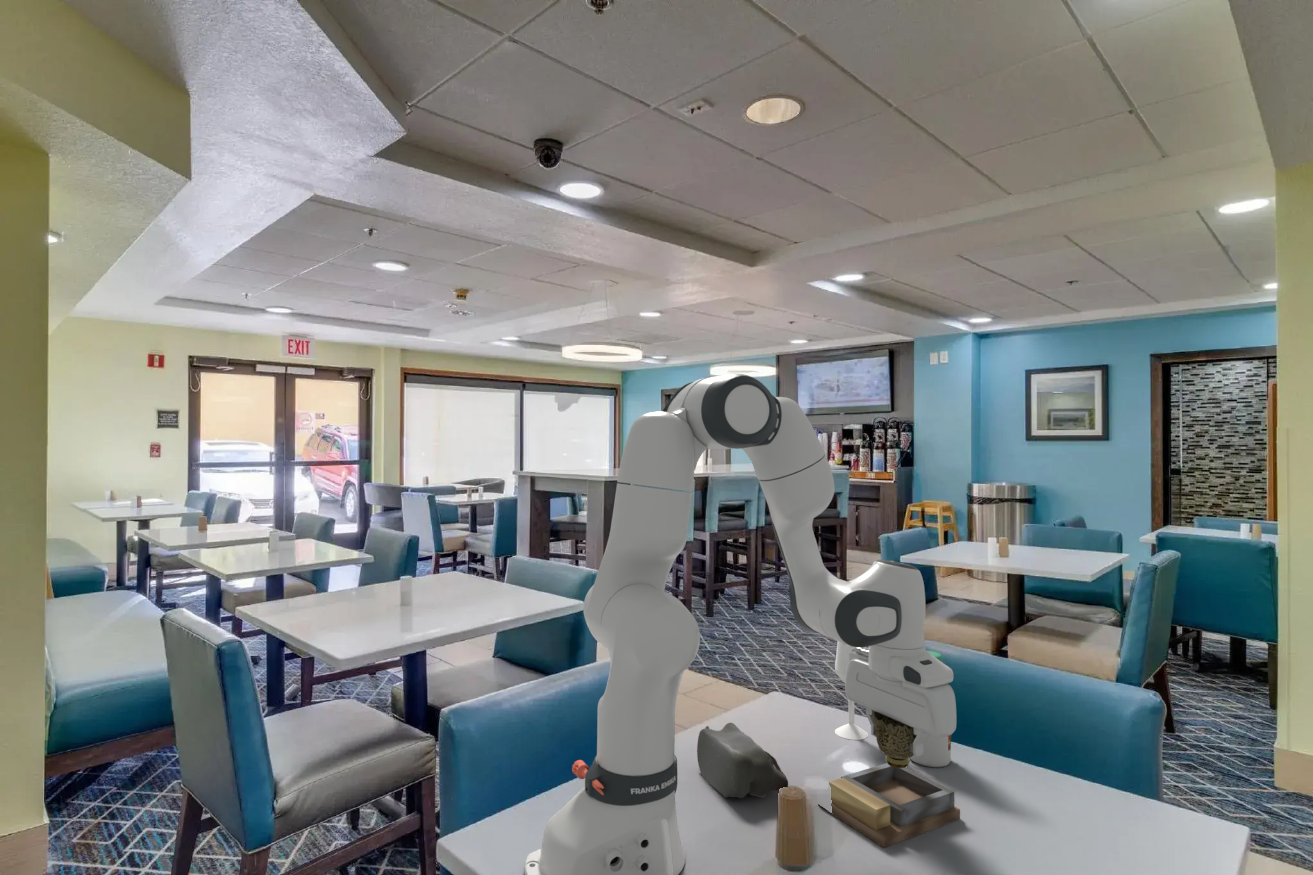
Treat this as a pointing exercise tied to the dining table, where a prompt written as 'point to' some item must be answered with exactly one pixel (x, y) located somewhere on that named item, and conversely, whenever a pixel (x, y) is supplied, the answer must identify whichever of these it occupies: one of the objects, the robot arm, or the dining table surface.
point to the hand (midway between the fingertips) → (896, 744)
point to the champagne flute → (849, 729)
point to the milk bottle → (935, 745)
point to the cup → (893, 740)
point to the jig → (891, 803)
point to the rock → (737, 763)
